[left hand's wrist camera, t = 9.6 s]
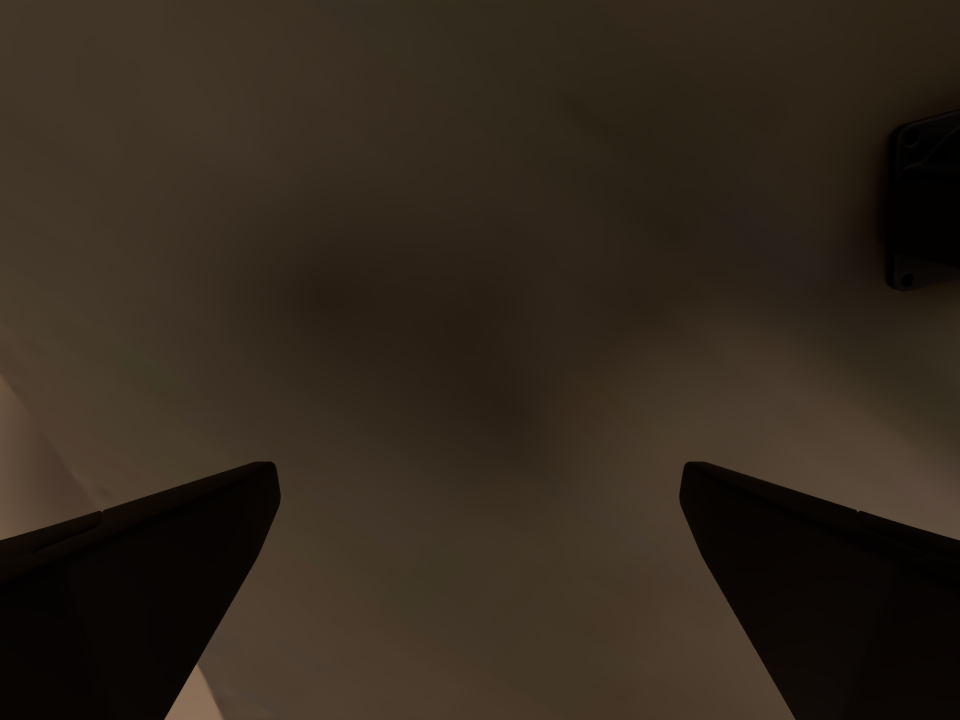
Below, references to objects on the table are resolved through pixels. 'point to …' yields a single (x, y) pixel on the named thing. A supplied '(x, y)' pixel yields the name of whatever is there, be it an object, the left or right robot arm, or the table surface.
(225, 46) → the table surface
